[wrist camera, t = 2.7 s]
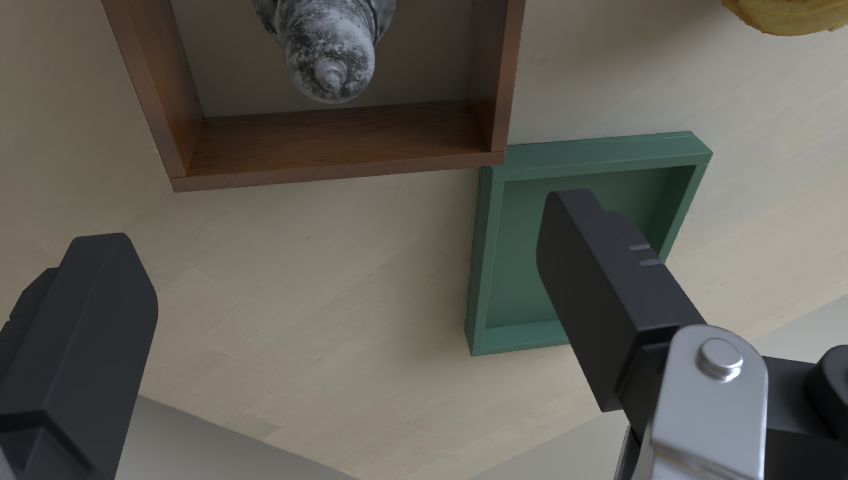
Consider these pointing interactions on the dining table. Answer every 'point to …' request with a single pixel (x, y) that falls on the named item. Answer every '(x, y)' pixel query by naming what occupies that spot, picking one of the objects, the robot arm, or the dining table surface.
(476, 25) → the open box
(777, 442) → the robot arm
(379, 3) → the salt shaker
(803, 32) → the bread roll
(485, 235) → the tray
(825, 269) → the dining table surface
